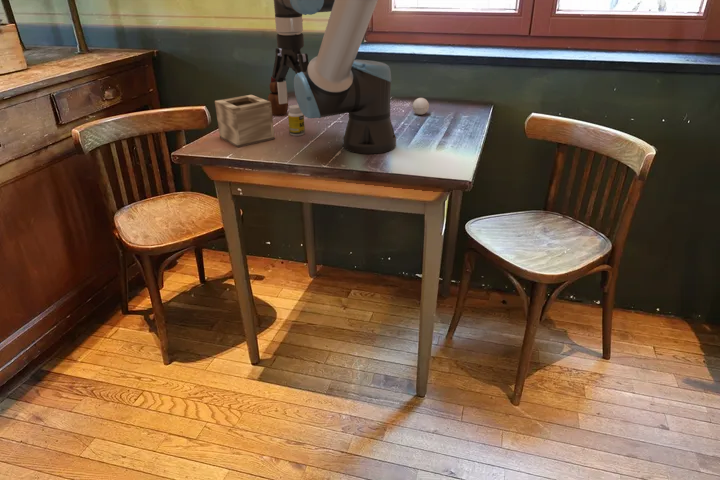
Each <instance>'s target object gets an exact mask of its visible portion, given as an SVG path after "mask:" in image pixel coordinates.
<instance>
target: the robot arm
mask: <svg viewBox="0 0 720 480" xmlns="http://www.w3.org/2000/svg"><path fill="white" fill-rule="evenodd" d="M378 2H379V0H273V6H274V7H273V8H274V19H275V31H276V33H277V34H276V45H277V47H276V48H275V58H274V64H273V67H272V68H273V70H272V75H271V77H272V78H273V79H274V78H275V80H276V82H277V87H278V99H279V104H285V103H288V104H289V99H288V100H287V97H288V88H287V78H286V77H287V75H288V72H289V69H291V70H292V71H294V73H295V75H294V78H293V87H294V95H295V98H296V102H297V105H299V108H300V110H301V112H302V113H303V115H304V118H307V119H321V118H326V117H333V116H337V115H343V114H348V121H347V124H346V128H345V131H344V135H343V137H342V146H343V149H345V150H347V151H349V152H351V153H355V154H363V155H364V154H366V155H367V154H368V155H369V154H372V155H373V154H382V153H388V152H390V151H392V150H394V149H395V148H396V147H397V137H396V134H395V131H394V127H393V123H392V120H391V99H392V98H391V90H392V89H391V88H392V86H391V85H392V81H393V80H392V73H391V68H390V66H389V65H388V64H386V63H385V62H381V61H375V60H366V59H356V58H357V55H358V52H359V50H360V47H361V46H362V45H361V44H362V42H363V39H364V37H365V36H366V35H365V34H366V32H367V29H368V27H369V24H370V22H371V19H372V16H373V14H374V12H375V9H376V7H377V4H378ZM329 12H330V14H329V18H328V21H327V23H326V27H325V31H324V34H323V38H322V39H321V40H322V41H321V44H320V46H319V49H318V50H319V51H318V54H317V56H314V57H313V58H312V59H310V61H309V56H308V53H302V51H301V49H302V48H304V47H305V43H304V42H305V38H304V33H303V32H304V27H303V24H304V23H303V20H304V19H303V15H305V16H306V15H310V16H312V15H315V14H317V13H329ZM276 73H277V74H276Z"/></svg>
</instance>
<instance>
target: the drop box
mask: <svg viewBox="0 0 720 480" xmlns="http://www.w3.org/2000/svg"><path fill="white" fill-rule="evenodd" d="M214 106H215V114H216V119H217V126H218V131H219V138H220V139H222V140H224V141H225V142H228V143H229V144H231V145H233V146H235V147H236V148H242V147H245V146H248V145H249V146H250V145H254V144H259V143H263V142H267V141H271V140H275V131H274V119H273V114H272V107H271V102H270V101H268V99H264V98H262V97H259V96H256V95H253V94H248V95H241V96H235V97H230V98H224V99H223V98H222V99H217V100H214Z"/></svg>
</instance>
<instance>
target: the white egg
mask: <svg viewBox="0 0 720 480" xmlns="http://www.w3.org/2000/svg"><path fill="white" fill-rule="evenodd" d="M411 108H412V110H413V112H414V113H415V114H416V115H419V116H422V115H425V114H427V112H428V111H429V108H430V103H429V101H428V100H427V99H426V98H424V97H418V98H416V99H414V101H413V103H412V107H411Z"/></svg>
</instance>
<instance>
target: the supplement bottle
mask: <svg viewBox="0 0 720 480" xmlns="http://www.w3.org/2000/svg"><path fill="white" fill-rule="evenodd" d="M287 116H288V117H287V118H288V133H289V135H290V136H294V137H297V136H298V137H300V136H303V135H305V133H306V129H305V116H304V115H303V113H302V112H301V110H300V108H299V105H298V104H294V105H293V104H292V105H288V114H287Z"/></svg>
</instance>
